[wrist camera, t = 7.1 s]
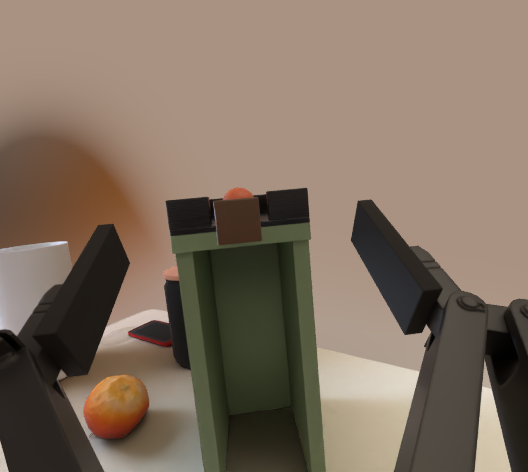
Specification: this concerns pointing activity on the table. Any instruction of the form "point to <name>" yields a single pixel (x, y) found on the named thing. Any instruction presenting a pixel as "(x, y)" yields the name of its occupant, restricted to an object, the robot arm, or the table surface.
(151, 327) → the cell phone
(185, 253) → the shelf stand
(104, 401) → the fruit
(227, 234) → the brown orange rod
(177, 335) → the coffee jar
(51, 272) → the cylinder vase
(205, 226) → the black rectangular open tray
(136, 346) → the table surface
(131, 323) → the table surface
